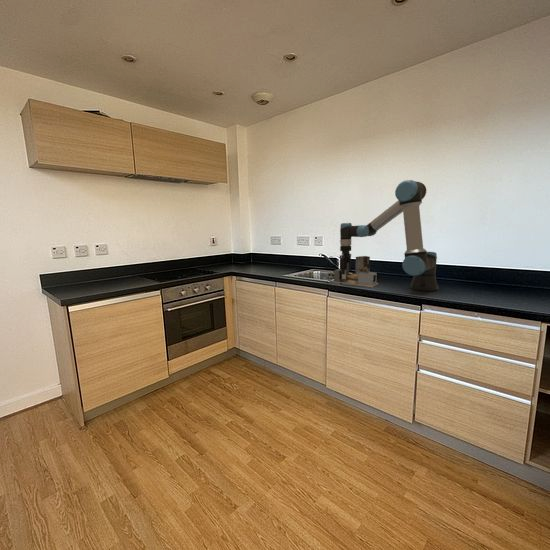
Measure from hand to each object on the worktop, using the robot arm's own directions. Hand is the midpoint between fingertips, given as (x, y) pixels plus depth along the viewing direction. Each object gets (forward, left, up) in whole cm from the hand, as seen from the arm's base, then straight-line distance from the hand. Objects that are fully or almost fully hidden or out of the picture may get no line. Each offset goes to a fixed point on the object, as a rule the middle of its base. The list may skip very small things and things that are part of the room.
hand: (345, 278), depth 203 cm
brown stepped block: (-3, -3, -1) cm, 4 cm away
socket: (+4, +3, -3) cm, 6 cm away
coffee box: (+17, -21, -3) cm, 28 cm away
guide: (-5, -4, -3) cm, 8 cm away
